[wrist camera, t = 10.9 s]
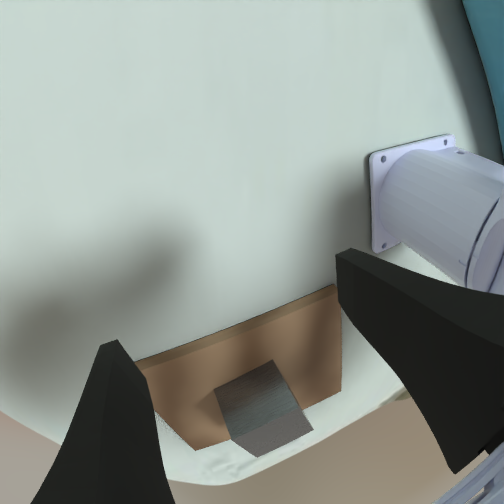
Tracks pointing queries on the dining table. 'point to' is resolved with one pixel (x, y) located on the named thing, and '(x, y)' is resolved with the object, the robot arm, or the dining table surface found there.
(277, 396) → the square cap
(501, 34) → the casserole dish
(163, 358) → the post board
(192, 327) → the dining table surface
